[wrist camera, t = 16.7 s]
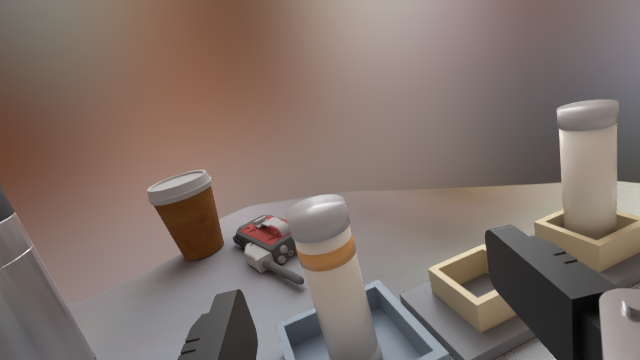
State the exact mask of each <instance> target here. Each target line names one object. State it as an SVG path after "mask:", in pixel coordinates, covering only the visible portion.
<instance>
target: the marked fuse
mask: <svg viewBox="0 0 640 360" xmlns="http://www.w3.org/2000/svg"><path fill="white" fill-rule="evenodd" d="M285 217H286V220H287V223H288V227H289V230H290V233H291V237H292V239H293V240H294V241H295V244H296V250H297V254H298V257H299V260H300V263H301V266H302V267H303V271H304V274H305V277H306V281H307V284H308V287H309V291H310V294H311V297H312V300H313V304H314V307H315V310H316V314H317V317H318V320H319V323H320V327H321V330H322V333H323V337H324V340H325V343H326V347H327V354H328V358H329V360H383V355H382V351H381V346H380V342H379V338H378V336H377V334H376V332H375V328H374V324H373V320H372V315H371V311H370V307H369V303H368V299H367V295H366V291H365V287H364V283H363V279H362V275H361V271H360V267H359V263H358V259H357V255H356V247H355V243H354V239H353V235H352V232H351V230H350V226H349V224H350V220H349V216H348V212H347V208H346V203H345V200H344V198H343V197H341V196H339V195H320V196H315V197H311V198H308V199H305V200H303V201H300V202H298V203H296V204H295V205H293V206H292V207H290V208H289V209H288V210H287V212H286V214H285Z"/></svg>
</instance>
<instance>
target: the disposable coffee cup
mask: <svg viewBox="0 0 640 360" xmlns="http://www.w3.org/2000/svg"><path fill="white" fill-rule="evenodd" d="M211 180H212V178H211V177H210V176H209V175H208V174H207V172H206V171H205V170H195V171H190V172H187V173H183V174H179V175H176V176H173V177H170V178H168V179H165V180H163V181H160V182H158V183H156V184H154V185H153V186H151V187H150V188H148V190H147V191H148V198H147V200H148V202H150V203H151V204H152V205H154V207H155V208H156V210H157V212H158V214H159V215H160V217H161V219H162V220H163V222H164V224H165V225H166V227H167V229H168V230H169V232H170V234H171V236H172V237H173V239H174V241H175V242H176V244H177V246H178V248H179V249H180V251H181V253H182V254H183V256H184V258H185V259H186V260H198V259H202V258H204V257H207V256H209V255H211V254H213V253H215V252H216V251H218V250H219V249H220V248H221V247H222V246H223V244H224V242H223V237H222V233H221V228H220V224H219V219H218V215H217V211H216V206H215V201H214V197H213V193H212V189H211V184H212V183H211Z"/></svg>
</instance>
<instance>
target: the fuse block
mask: <svg viewBox="0 0 640 360" xmlns="http://www.w3.org/2000/svg"><path fill="white" fill-rule="evenodd" d="M534 226H535V234H533V235H531V236H536V237H539V238H542V239H545V240H548V241H551V242H553V243H554V244H556V245H557V246H559V247H560V248H562V249H563V250H564V251H566V253H569V254H570V255H572V256H573V257H575V258H576V259H577V261H578V262H579V261H580V262H582V263H583V264H585V265H586V266H588V267H589V268H591V269H592V270H594V271H595V272H596V273H598V274H599V275H601V276H602V277H604V278H605V279H607V280H608V281H610V282H611V283H613V284H614V285H615V286H617V287H618V288H628V287H630V286H632V285H633V284H635V283H637V282H639V281H640V217H638V216H634V215H630V214H627V213H623V212H619V211H617V230H618V231H616V232H614V233H612V234H610V235H608V236H606V237H603V238H601V239H599V240H594V239H592V238H589V237H586V236H583V235H580V234H578V233H575V232H572V231H569V230H566V229H564V228H563V227H564V219H563V209H562V210H560V211H558V212H555V213H553V214H551V215H549V216H546V217H544V218H542V219H539V220H537V221H535V222H534ZM531 236H528V237H531ZM428 272H429V278H430V281H428V282H426V283H424V284H421V285H419V286H417V287H415V288H413V289H410V290H408V291H406V292H404V293H401V294H400V299H401V303H402V304H403V305H404V306H405V307H406V309H407V310H408V311H409V312H410V313H411V314H412V315H413V316H414V317H415V318H416V319H417V320H418V321H419V322H420V323H421V324H422V325H423V326H424V327H425V328H426V329H427V330H428V331H429V332H430V333H431V334H432V335H433V336H434V338H435V339H436V340H437V341H438V342H439V343H440V344H441V345H442V346H443V347H444V348H445V349H446V350H447V351H448V352H449V353H450V354H451V355H452V356H453V357H454V358H455V359H456V360H493V359H495V358H497V357H499V356H501V355H503V354H505V353H507V352H508V351H510V350H512V349H514V348H516V347H518V346H520V345H521V344H523V343H525V342H527V341H529V340H531V339H533V338H534V337H536V336H535V334H534V333H533V332H532V331H531V330H530V329H529V328H528V326H527V325H526V324H525V323H524V322H523V321H522V320H521V319H520V317H519V316H518V315H517V314H516V313H515V312H514V311H513V310H512V308H511V307H510V306H509V305H508V304H507V303H506V302H505V300H504V299H503V298H502V297H501V296H500V295H499V294H498V293H497V291H496V290H495V288H494V286H493V284H492V282H491V280H490V277H489V272H488V262H487V252H486V245H484V244H482V245H480V246H478V247H476V248H473V249H471V250H469V251H467V252H464V253H462V254H460V255H457V256H455V257H453V258H451V259H448V260H446V261H444V262H442V263H439V264H437V265H435V266H432V267H430V268H428Z"/></svg>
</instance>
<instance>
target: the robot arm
mask: <svg viewBox="0 0 640 360" xmlns="http://www.w3.org/2000/svg"><path fill="white" fill-rule="evenodd" d="M485 242H486V252H487V262H488V272H489V277H490V280H491V282H492V284H493V286H494V288H495V290H496V291H497V293H498V294H499V295H500V296H501V297H502V298H503V299H504V300H505V302H506V303H507V304H508V305H509V306H510V307H511V308H512V310H513V311H514V312H515V313H516V314H517V315H518V316H519V317H520V319H521V320H522V321H523V322H524V323H525V324H526V325H527V326H528V328H529V329H530V330H531V331H532V332H533V333H534V334H535V336H536V337H537V338H538V339H539V340H540V341H541V342H542V343H543V345H544V346H545V347H546V348H547V349H548V350H549V351H550V352H551V354H552V355H553V356H554V357H555V358H556V359H557V360H640V290H639V289H630V288H618V287H617V286H615V285H614V284H613V283H611V282H610V281H608V280H607V279H605V278H604V277H602V276H601V275H599V274H598V273H596V272H595V271H594V270H592V269H591V268H589V267H588V266H586V265H585V264H583V263H582V262H580V261H579V262H578V261H577V259H576V258H575V257H573V256H572V255H570V254H569V253H566V251H564V250H563V249H562V248H560V247H559V246H557V245H556V244H554V243H553V242H551V241H548V240H545V239H542V238H539V237H536V236H531V237H528V236H527V235H526V234H524V233H523V232H522V231H520V230H519V229H518V228H516V227H515V226H513V225H507V226H503V227H499V228H494V229H490V230H487V231H486V233H485ZM185 342H186V344H184V346H183V348H182V350H181V355H180V356H179V358H178V360H256V355H257V347H258V340H257V333H256V328H255V325H254V323H253V320H252V317H251V314H250V312H249V309H248V306H247V303H246V301H245V298H244V295H243V293H242V291H241V290H239V289H238V290H234V291H230V292H226V293H222V294H217V295H216V296H215V298H214V301H213V303H212V306H211V309H210V312H209V313H207V314H202V315H201V317H200V318H199V319H198V320H197V321H196V322H195V324H194V325H193V326H192V327H191V329H190V331H189V334H188V336H187V338H186V341H185ZM0 360H97V359H96V356H95V354H94V353H93V352H92V350H91V349H90V347H89V345H88V343H87V341H86V340H85V337H84V336H83V334H82V332H81V330H80V328H79V327H78V325H77V323H76V321H75V319H74V318H73V316H72V314H71V312H70V310H69V309H68V307H67V305H66V303H65V301H64V300H63V298H62V296H61V294H60V292H59V291H58V289H57V287H56V285H55V283H54V282H53V280H52V278H51V276H50V274H49V272H48V271H47V269H46V267H45V266H44V263H43V262H42V260H41V258H40V257H39V254H38V253H37V251H36V249H35V247H34V245H33V244H32V242H31V240H30V238H29V237H28V235H27V233H26V231H25V229H24V228H23V226H22V224H21V222H20V220H19V219H18V217H17V215H16V213H15V212H14V210H13V208H12V206H11V204H10V203H9V201H8V199H7V197H6V195H5V193H4V191H3V189H2V187H1V184H0Z"/></svg>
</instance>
